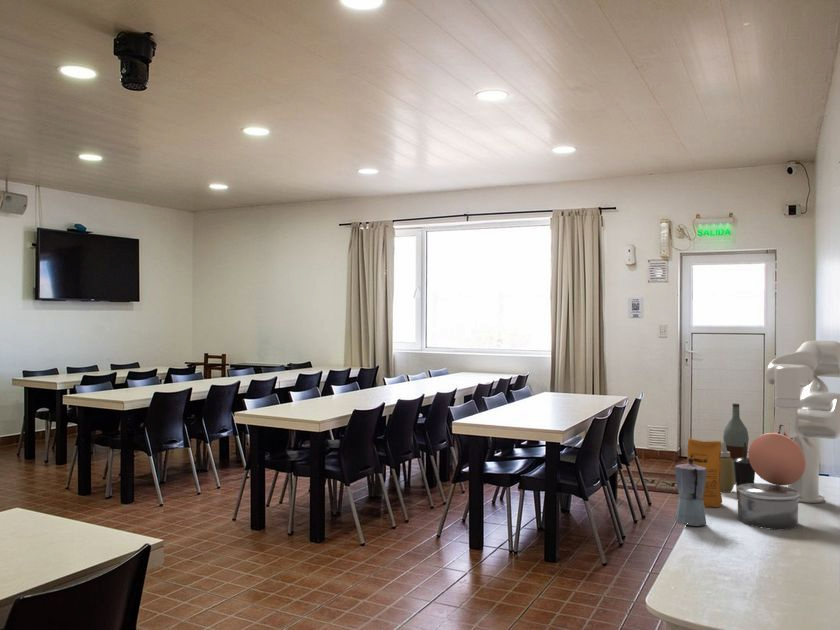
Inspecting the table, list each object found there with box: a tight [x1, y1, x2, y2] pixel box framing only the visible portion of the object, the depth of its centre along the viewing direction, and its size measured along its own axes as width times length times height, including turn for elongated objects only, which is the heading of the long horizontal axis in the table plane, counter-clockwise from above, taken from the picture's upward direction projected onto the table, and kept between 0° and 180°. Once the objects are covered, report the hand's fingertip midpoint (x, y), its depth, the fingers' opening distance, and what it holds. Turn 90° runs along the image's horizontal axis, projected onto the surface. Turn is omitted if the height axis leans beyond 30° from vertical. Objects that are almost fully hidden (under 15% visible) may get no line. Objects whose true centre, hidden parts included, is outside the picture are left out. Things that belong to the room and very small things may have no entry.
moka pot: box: [674, 458, 707, 527], centre depth 221 cm, size 10×15×20 cm, turn 174°
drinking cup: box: [733, 442, 756, 500], centre depth 251 cm, size 8×8×20 cm
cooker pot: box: [736, 482, 799, 530], centre depth 224 cm, size 18×18×10 cm
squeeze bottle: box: [720, 441, 736, 493], centre depth 263 cm, size 8×8×18 cm
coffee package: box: [686, 438, 723, 508], centre depth 245 cm, size 10×12×22 cm
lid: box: [747, 432, 806, 486], centre depth 230 cm, size 17×17×3 cm
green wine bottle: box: [722, 403, 750, 483], centre depth 280 cm, size 9×9×30 cm
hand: (787, 458), depth 236 cm, fingers closed
